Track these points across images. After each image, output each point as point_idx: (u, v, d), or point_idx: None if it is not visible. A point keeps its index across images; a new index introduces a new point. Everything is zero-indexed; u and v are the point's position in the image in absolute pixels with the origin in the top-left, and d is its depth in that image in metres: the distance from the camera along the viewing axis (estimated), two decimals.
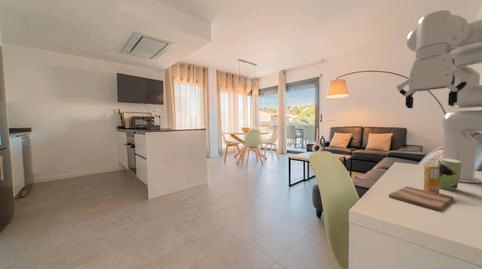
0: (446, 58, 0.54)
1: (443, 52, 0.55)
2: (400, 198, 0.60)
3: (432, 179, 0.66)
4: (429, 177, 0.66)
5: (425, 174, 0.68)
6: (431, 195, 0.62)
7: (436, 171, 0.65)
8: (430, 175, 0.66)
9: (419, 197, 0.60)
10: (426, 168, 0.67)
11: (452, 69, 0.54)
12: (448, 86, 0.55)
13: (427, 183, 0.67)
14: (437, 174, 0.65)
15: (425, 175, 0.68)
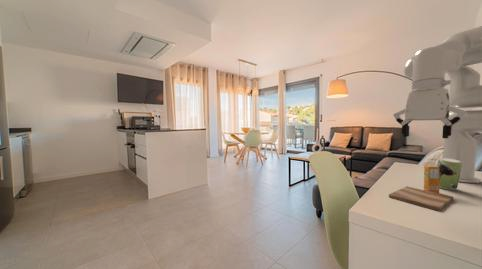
0: (440, 93, 0.56)
1: (438, 87, 0.57)
2: (400, 198, 0.60)
3: (432, 179, 0.66)
4: (429, 177, 0.66)
5: (425, 174, 0.68)
6: (431, 195, 0.62)
7: (436, 171, 0.65)
8: (430, 175, 0.66)
9: (419, 197, 0.60)
10: (426, 168, 0.67)
11: (446, 104, 0.56)
12: (442, 120, 0.57)
13: (427, 183, 0.67)
14: (437, 174, 0.65)
15: (425, 175, 0.68)
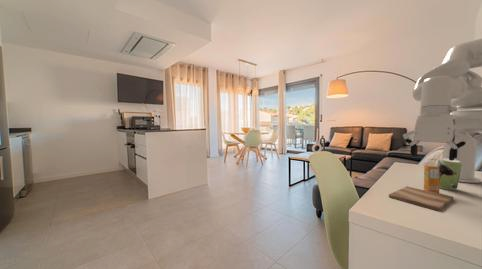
0: (447, 119, 0.62)
1: (445, 113, 0.62)
2: (400, 198, 0.60)
3: (432, 179, 0.66)
4: (429, 177, 0.66)
5: (425, 174, 0.68)
6: (431, 195, 0.62)
7: (436, 171, 0.65)
8: (430, 175, 0.66)
9: (419, 197, 0.60)
10: (426, 168, 0.67)
11: (453, 129, 0.61)
12: (449, 143, 0.62)
13: (427, 183, 0.67)
14: (437, 174, 0.65)
15: (425, 175, 0.68)
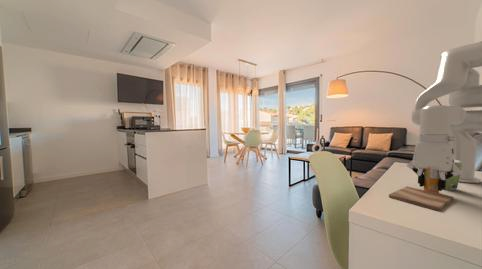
0: (446, 148, 0.62)
1: (443, 142, 0.63)
2: (400, 198, 0.60)
3: (432, 179, 0.66)
4: (428, 177, 0.66)
5: (425, 174, 0.68)
6: (431, 195, 0.62)
7: (436, 171, 0.65)
8: (430, 175, 0.66)
9: (419, 197, 0.60)
10: None
11: (451, 158, 0.62)
12: None
13: (427, 183, 0.67)
14: (437, 174, 0.65)
15: (425, 175, 0.68)
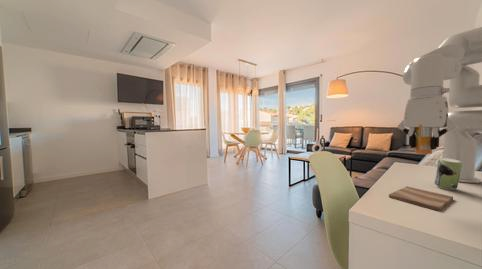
0: (439, 101, 0.56)
1: (436, 95, 0.56)
2: (400, 198, 0.60)
3: (424, 137, 0.60)
4: (420, 136, 0.60)
5: (416, 133, 0.62)
6: (431, 195, 0.62)
7: (428, 128, 0.59)
8: (422, 133, 0.60)
9: (419, 197, 0.60)
10: None
11: (445, 112, 0.56)
12: None
13: (418, 143, 0.61)
14: (429, 132, 0.59)
15: (416, 135, 0.62)
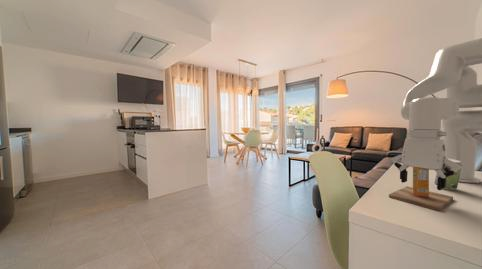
0: (436, 144, 0.57)
1: (434, 138, 0.57)
2: (400, 198, 0.60)
3: (421, 180, 0.60)
4: (417, 179, 0.61)
5: (414, 175, 0.63)
6: (431, 195, 0.62)
7: (425, 172, 0.60)
8: (419, 176, 0.60)
9: (419, 197, 0.60)
10: (415, 169, 0.62)
11: (442, 156, 0.56)
12: (438, 171, 0.57)
13: (416, 185, 0.61)
14: (426, 175, 0.60)
15: (414, 176, 0.63)
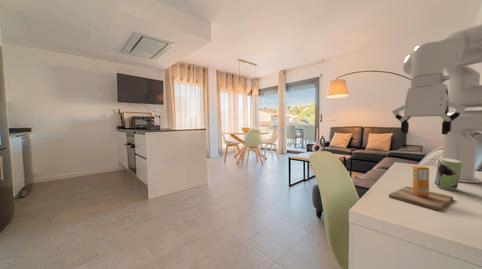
0: (439, 88, 0.56)
1: (437, 82, 0.56)
2: (400, 198, 0.60)
3: (421, 180, 0.60)
4: (417, 179, 0.61)
5: (414, 175, 0.63)
6: (431, 195, 0.62)
7: (425, 172, 0.60)
8: (419, 176, 0.60)
9: (419, 197, 0.60)
10: (415, 169, 0.62)
11: (445, 99, 0.55)
12: (442, 116, 0.56)
13: (416, 185, 0.61)
14: (426, 175, 0.60)
15: (414, 176, 0.63)
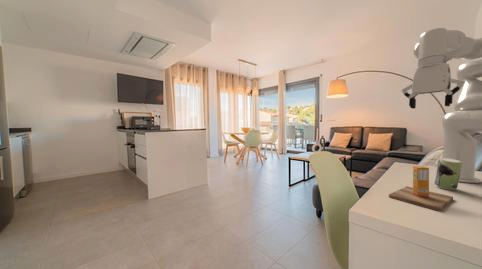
0: (443, 67, 0.66)
1: (440, 62, 0.67)
2: (400, 198, 0.60)
3: (421, 180, 0.60)
4: (417, 179, 0.61)
5: (414, 175, 0.63)
6: (431, 195, 0.62)
7: (425, 172, 0.60)
8: (419, 176, 0.60)
9: (419, 197, 0.60)
10: (415, 169, 0.62)
11: (448, 76, 0.66)
12: (445, 90, 0.67)
13: (416, 185, 0.61)
14: (426, 175, 0.60)
15: (414, 176, 0.63)
